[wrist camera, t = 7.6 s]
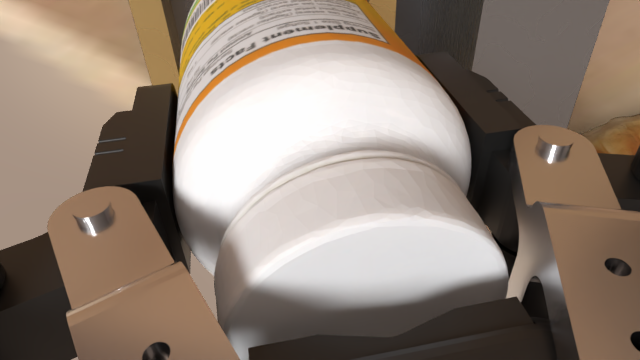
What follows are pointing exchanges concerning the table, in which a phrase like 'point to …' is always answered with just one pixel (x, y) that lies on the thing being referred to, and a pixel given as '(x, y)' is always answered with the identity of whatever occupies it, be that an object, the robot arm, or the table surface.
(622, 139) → the pastry
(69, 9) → the table surface
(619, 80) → the table surface
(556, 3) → the grey and tan tray
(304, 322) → the supplement bottle
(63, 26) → the table surface
